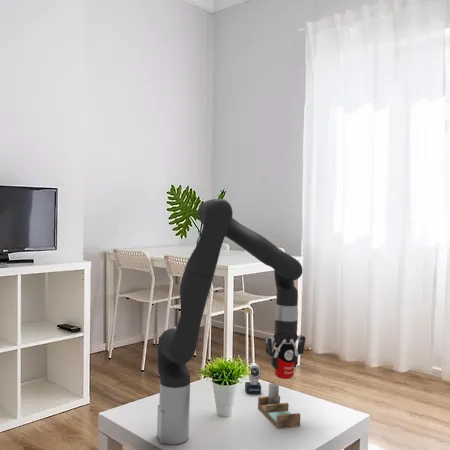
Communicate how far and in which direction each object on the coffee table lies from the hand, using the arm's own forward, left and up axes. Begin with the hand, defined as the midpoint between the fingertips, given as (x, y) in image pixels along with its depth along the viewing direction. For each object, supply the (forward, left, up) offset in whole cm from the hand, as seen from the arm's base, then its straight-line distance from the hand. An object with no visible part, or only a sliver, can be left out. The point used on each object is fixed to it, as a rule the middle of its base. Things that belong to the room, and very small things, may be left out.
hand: (284, 367), depth 171 cm
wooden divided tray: (0, +3, -18) cm, 19 cm away
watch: (0, +27, -19) cm, 33 cm away
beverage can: (0, 0, -3) cm, 3 cm away
